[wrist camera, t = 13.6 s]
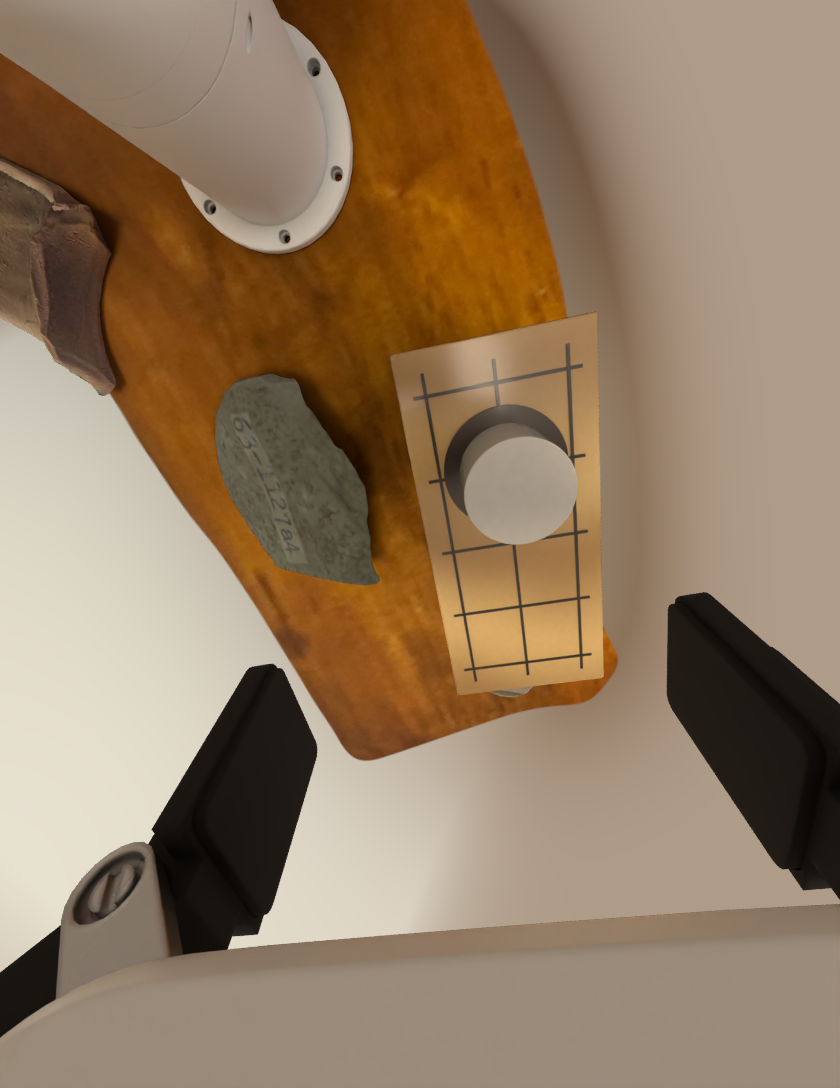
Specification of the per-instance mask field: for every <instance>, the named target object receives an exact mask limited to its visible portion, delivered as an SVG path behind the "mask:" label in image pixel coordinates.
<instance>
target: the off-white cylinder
mask: <svg viewBox="0 0 840 1088" xmlns="http://www.w3.org/2000/svg"><path fill="white" fill-rule="evenodd" d="M459 474H460V483H461V488H462V493H463V498H464V503H465V507H466V511H467V513H468V516H469V518H470V520H471V521H472V523H473V524H474V525H475V527H476V528H477V529H478V530H479V531H480V532H481V533H483V534H484V535H485V536H487V537H489V538H490V539H492V540H495V541H497V542H501V543H505V544H513V545H519V544H527V543H532V542H535V541H538V540H540V539H543V538H545V537H547V536H548V535H550V534H551V533H553V532H554V531H555V530H557V529H558V528H559V527H560V526H561V525H562V524H563V523H564V521H565V520H566V519H567V518H568V516H569V514H570V513H571V511H572V509H573V506H574V504H575V501H576V497H577V491H578V481H577V475H576V471H575V468H574V466H573V463H572V462H571V460H570V459H569V457H568V456H567V455H566V453H565V452H564V451H563V450H562V449H560V448H559V447H558V446H557V445H555V444H554V443H553V442H551V441H550V440H549V439H547V438H546V437H545V436H543V435H542V434H541V433H539V432H538V431H536V430H535V429H533V428H531V427H529V426H526V425H523V424H518V423H504V424H499V425H495V426H493V427H490V428H488V429H486V430H484V431H483V432H481V433H480V434H479V435H477V436H476V437H475V438H474V439H473V440H472V442H471V443H470V444H469V445H468V447H467V448H466V450H465V452H464V454H463V457H462V460H461V464H460V473H459Z"/></svg>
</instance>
